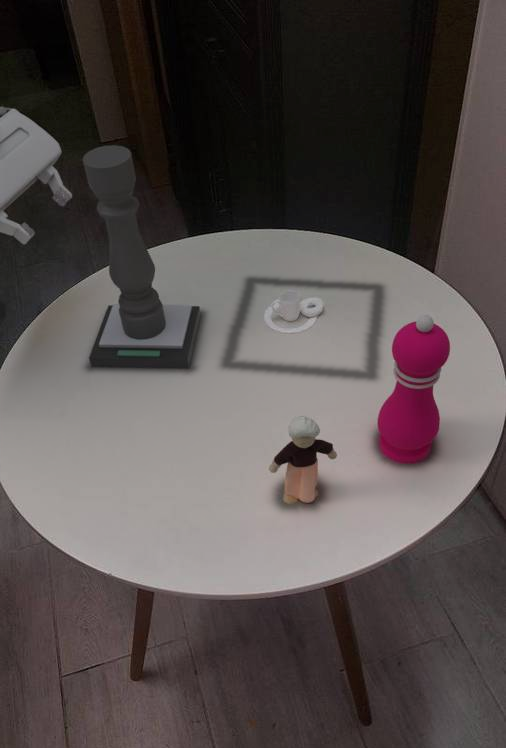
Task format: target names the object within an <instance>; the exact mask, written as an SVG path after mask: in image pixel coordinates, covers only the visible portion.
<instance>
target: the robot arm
mask: <svg viewBox="0 0 506 748" xmlns="http://www.w3.org/2000/svg"><path fill="white" fill-rule="evenodd" d="M61 155H62V148H61V145H60V143H59V142H58V141H57V140H56V139H55V138H54V137H53V136H52V135H51V134H50V133H48V132H47V131H46V130H44V128H42V127H41V126H39V124H37V123H36V122H35V121H33V120H32V119H31V118H29V117H28V116H26V115H24V114H23V113H20V111H18V110H17V109H16V108H11V107H5V106H0V233H1V234H5V235H8V236H13V237H14V238H15V240H17V241H18V242H19V243H21V244H22V245H27V243H28V242H30V240H31V239H32V238H33V237H34V236H35V234H36V232H35V230H34V229H33V228H31V227H30V226H29V224H27V223H26V222H25V221H24V222H22V223H21V224H19V223H18V222H16V221H14V220H10V219H8V214H7V213H6V211H5V210H6V209H7V208H8V207H9V206H10V205H12V203H13V202H14V201H16V200H17V199H18V198H19V197H20V196H21V195H22V194H23V193H25V191H27V190H28V189H29V188H30V187H31V186H33V185H34V183H36V182H37V181H38V180H40V181H41V182H42V184H44V185H47V184H48V186H49V188H50V190H51V191H52V193H53V196H51V199H52V200H53V201H54V202H56V203H57V204H58V206H60V207H65V206H66V204H68V203H69V202H70V201H71V200H72V198H73V194H72V192H70V190H68V189H67V188H66V187H65V185H64V183H63V181H62V179H61V176H60V174H59V172H58V170H57V169H56V168H55V167H54V165H55V164H56V162H57V161H58V160H59V158H60V156H61Z"/></svg>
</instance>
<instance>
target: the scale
mask: <svg viewBox="0 0 506 748" xmlns="http://www.w3.org/2000/svg"><path fill="white" fill-rule="evenodd" d="M162 305H163V310H164V315H165V321H166V325H165V329H164V330H163V331H162V332H161V333H160V334H159V335H157V336H155V337H153V338H149V339H144V340H137V339H133V338H130V337H129V336H127V335H126V334H125V332H124V330H123V326H122V322H121V318H120V314H119V307H120V305H119V304H110V305H107V308H106V311H105V314H104V316H103V319H102V322H101V324H100V327H99V330H98V333H97V335H96V337H95V340H94V343H93V345H92V348H91V351H90V354H89V357H88V359H89V362H90V366H91V368H124V369H125V368H126V369H128V368H129V369H180V370H183V369H184V370H186V369H188V370H189V369H190V366H191V361H192V356H193V351H194V348H195V343H196V340H197V339H196V338H197V334H198V329H199V325H200V321H201V316H202V315H201V307H200V305H191V304H162Z"/></svg>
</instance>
